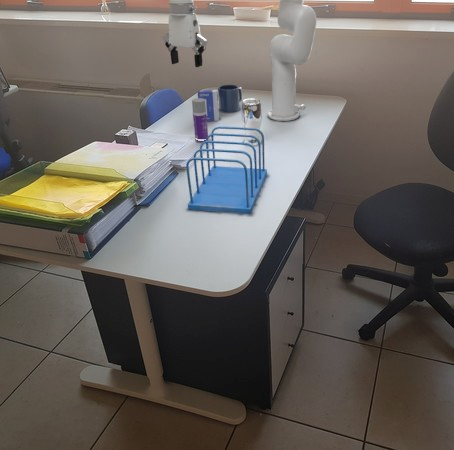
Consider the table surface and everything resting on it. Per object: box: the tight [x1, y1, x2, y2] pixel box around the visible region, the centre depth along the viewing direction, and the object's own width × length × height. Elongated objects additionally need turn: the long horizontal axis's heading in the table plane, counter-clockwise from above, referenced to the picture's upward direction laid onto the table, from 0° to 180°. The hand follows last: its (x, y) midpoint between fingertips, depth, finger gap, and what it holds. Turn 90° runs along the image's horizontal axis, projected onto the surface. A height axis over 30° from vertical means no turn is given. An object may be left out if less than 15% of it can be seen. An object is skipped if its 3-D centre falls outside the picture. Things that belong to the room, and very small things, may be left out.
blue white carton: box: [197, 89, 220, 122], centre depth 185 cm, size 8×3×12 cm, turn 98°
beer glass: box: [241, 98, 263, 147], centre depth 163 cm, size 7×7×15 cm
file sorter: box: [185, 126, 268, 215], centre depth 131 cm, size 25×17×15 cm
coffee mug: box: [217, 84, 243, 114], centre depth 199 cm, size 12×9×10 cm
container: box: [191, 97, 209, 144], centre depth 165 cm, size 5×5×15 cm
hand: (186, 64), depth 156 cm, fingers open, 9 cm apart
